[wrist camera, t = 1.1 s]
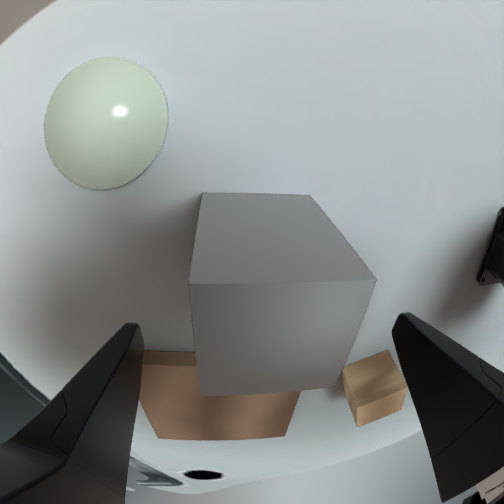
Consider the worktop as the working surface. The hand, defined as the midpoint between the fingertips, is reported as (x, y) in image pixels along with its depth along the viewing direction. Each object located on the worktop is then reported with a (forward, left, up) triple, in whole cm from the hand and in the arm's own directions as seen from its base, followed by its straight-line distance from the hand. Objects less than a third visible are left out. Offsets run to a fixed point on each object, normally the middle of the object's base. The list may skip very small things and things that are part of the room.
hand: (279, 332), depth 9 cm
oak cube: (-10, +12, -6) cm, 17 cm away
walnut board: (+2, +14, -6) cm, 15 cm away
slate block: (0, 0, -6) cm, 6 cm away
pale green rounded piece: (+7, -6, -7) cm, 11 cm away
